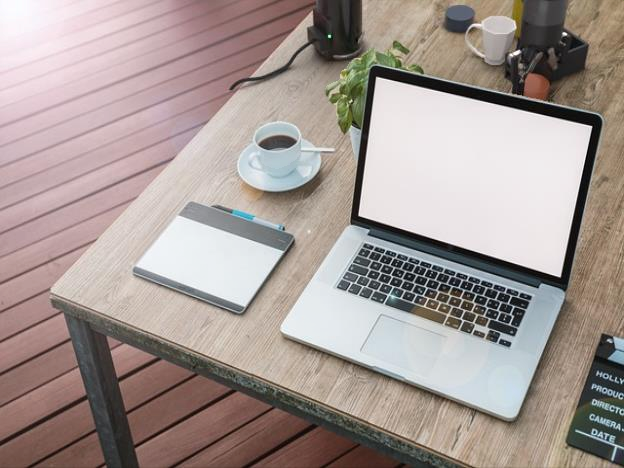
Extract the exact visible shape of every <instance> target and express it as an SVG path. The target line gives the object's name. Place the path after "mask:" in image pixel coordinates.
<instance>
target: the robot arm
mask: <svg viewBox="0 0 624 468" xmlns="http://www.w3.org/2000/svg"><path fill="white" fill-rule="evenodd" d="M315 3H316V6H313V7H312V22H313V23H312V24H313V25H310V26H307V27H306V34H307V35H306V36H307V42H306V43H304V44H303V45H301V46H300V47H299V48H298V49H297V50H296V51H295V52H294V53H293V55H291V57H290V59H289V60H288V62H287V63H286V64H285V65H283V66H282V67H280V68H277V69H275V70H274V71H271V72H269V73H266V74H263V75H260V76H254V77H253V76H252V77H245V78H241V79H238V80H236V81H235V82H233V83H232V85H231V86H230V87H229V88H228V91H234V89H235V88H236V87H237V86H238V85H240V84H243V83H246V82H247V83H248V82H257V81H262V80H266V79H268V78H270V77H272V76H275V75H277V74H279V73H281V72H284V71H286V70H287V69H288V68H289V67H291V65H292V64H293V63H294V61H295V60H296V58H297V57H298V56H299V54H300V53H301V52H303V51H304V50H306V49H307V48H309V46H311V45H312V47H314V49H315V50H316V51H317V52H318V53H319V54H320V55H321V56H323V57H324V58H325V59H326V60H327V61H328V62H332V61H334V60H335V61H342V60H343V61H344V60H349V59H352V58H355V57H357V56H359V54H361V53H362V51H363V49H364V40H363V39H364V36H365V34H366V33H365V31H366V30H365V29H364V30H363V0H315ZM568 5H569V0H524V4H523V11H522V18H521V26H520V37H521V44H520V46H519V48H518V51H516V50H515V51H514V52H511V51H509V52H507V53H506V54H505V62H504V69H503V70H504V71H503V73H504V75H503V76H504V79H506V80H507V81H508V82H510V83H511V84H512V86H511V94H512V95H513V94H517V95H522V96H523V94H524V88H525V80H526V78H527V76H528V74H532V71H533V69H534V68H535V66H536V65H538V64H539V63H543V62H544V64H545V66H543V72H542V76H544V77H545V78H546V79H547V80H548V81H549V83H550V86H549V87H551V86H552V85H553V84H552V83H553V82H554V81H553V80H554V74H555V70H556V69H557V68H558V65H559V64H561V65H562V64H564V63H565V61H566V58H567V55H568V51H569V47H570V44H571V40H572V36H570V35H569V34H567V33H566V32H564V31H563V28H565V22H566V16H567V11H568ZM560 52H561V56H560V55H559V53H560ZM524 61H525V62H526V63H527V64H529V66H528V67H527V66H526V65H525V64H524ZM521 72H522V73H521ZM520 73H521V74H520Z"/></svg>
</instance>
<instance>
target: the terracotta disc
mask: <svg viewBox="0 0 624 468" xmlns="http://www.w3.org/2000/svg"><path fill="white" fill-rule="evenodd" d="M550 87H551V86H550V83H549V81H548V80H547V79H546V78H545V77H544V76H541V75H538V74H532V73H529V74H528V76H527V78H526V80H525V88H524V94H523V96H526V97H530V98H536V99H540V100H544V102H545V101H547V99H548V97H549V96H548V95H549V90H550Z"/></svg>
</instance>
